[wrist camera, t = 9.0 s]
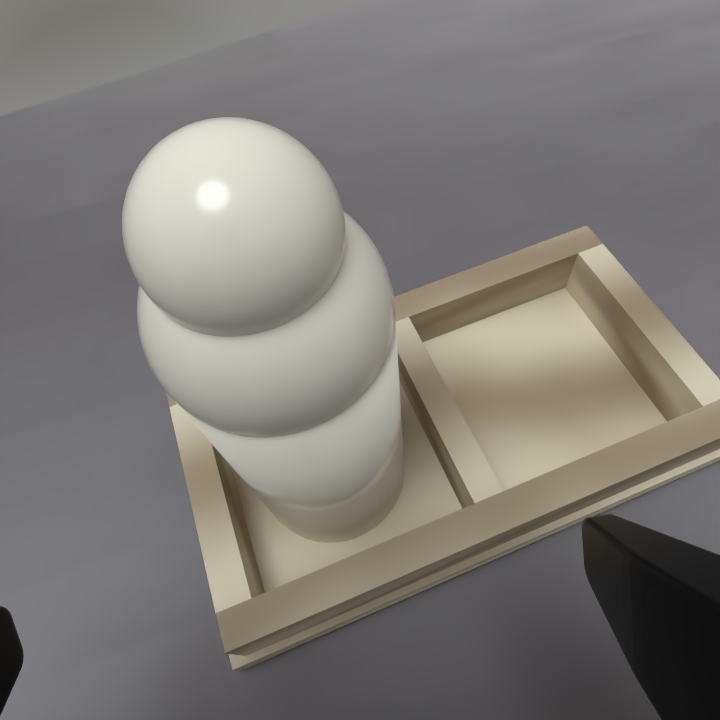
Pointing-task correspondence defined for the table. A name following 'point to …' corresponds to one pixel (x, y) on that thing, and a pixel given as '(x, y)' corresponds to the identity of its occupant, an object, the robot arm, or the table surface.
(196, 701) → the table surface
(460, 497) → the divided wooden tray
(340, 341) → the white pawn figure
